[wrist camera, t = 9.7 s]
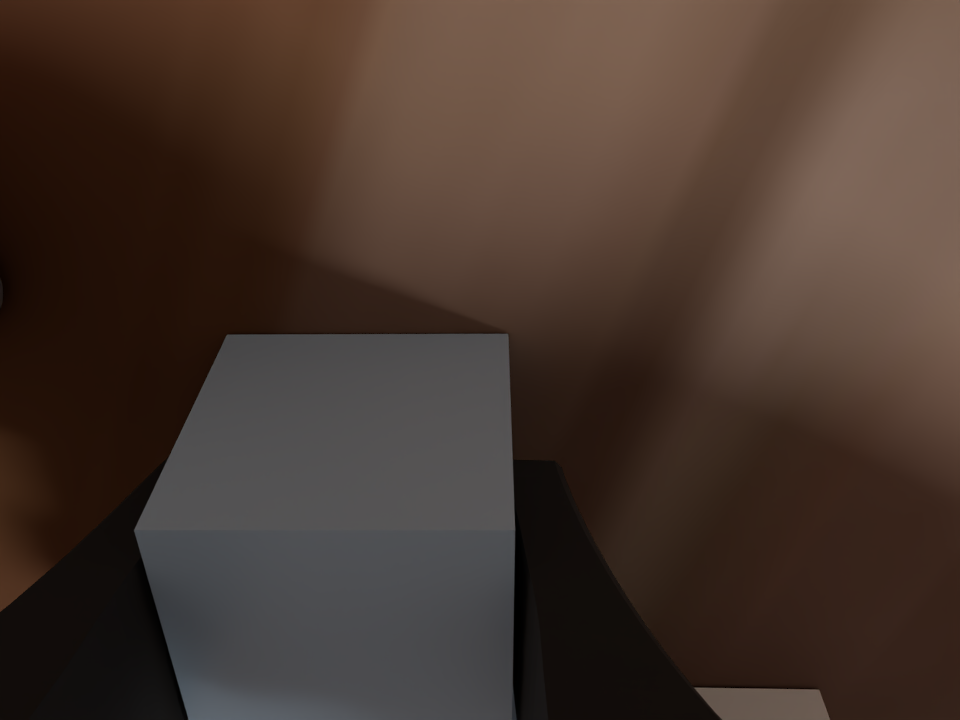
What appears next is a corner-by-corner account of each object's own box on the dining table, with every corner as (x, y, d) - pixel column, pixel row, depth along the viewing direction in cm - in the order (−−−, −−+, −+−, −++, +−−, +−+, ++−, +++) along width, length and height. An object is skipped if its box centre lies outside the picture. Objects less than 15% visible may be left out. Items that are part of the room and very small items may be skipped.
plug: (543, 333, 13) (563, 530, 9) (532, 661, 17) (543, 886, 13) (191, 334, 13) (87, 530, 10) (260, 661, 17) (202, 884, 13)
